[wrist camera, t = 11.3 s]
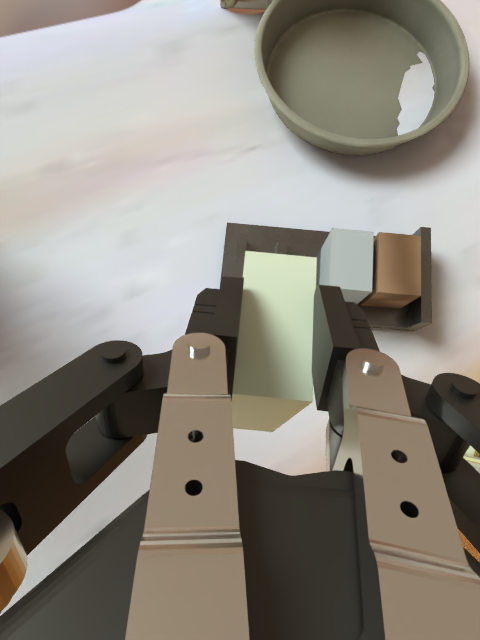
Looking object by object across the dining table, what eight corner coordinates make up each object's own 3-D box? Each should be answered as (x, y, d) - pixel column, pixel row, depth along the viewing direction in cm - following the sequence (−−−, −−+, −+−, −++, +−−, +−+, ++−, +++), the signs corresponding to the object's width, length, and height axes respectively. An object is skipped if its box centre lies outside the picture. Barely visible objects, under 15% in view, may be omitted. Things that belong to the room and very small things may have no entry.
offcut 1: (318, 301, 41) (329, 287, 36) (321, 248, 42) (332, 228, 37) (356, 305, 41) (372, 291, 36) (357, 251, 42) (373, 231, 37)
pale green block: (230, 427, 23) (230, 393, 12) (238, 347, 25) (245, 250, 14) (272, 432, 23) (312, 401, 12) (277, 351, 25) (316, 257, 14)
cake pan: (317, 203, 45) (326, 181, 40) (218, 47, 49) (216, 12, 45) (489, 116, 48) (515, 87, 43) (380, -24, 52) (393, -64, 48)
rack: (217, 312, 42) (215, 302, 38) (227, 226, 44) (226, 209, 40) (413, 330, 41) (431, 323, 38) (413, 243, 44) (430, 227, 40)
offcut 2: (361, 305, 41) (377, 291, 36) (362, 252, 42) (379, 232, 37) (399, 308, 41) (421, 295, 36) (399, 255, 42) (420, 236, 37)
